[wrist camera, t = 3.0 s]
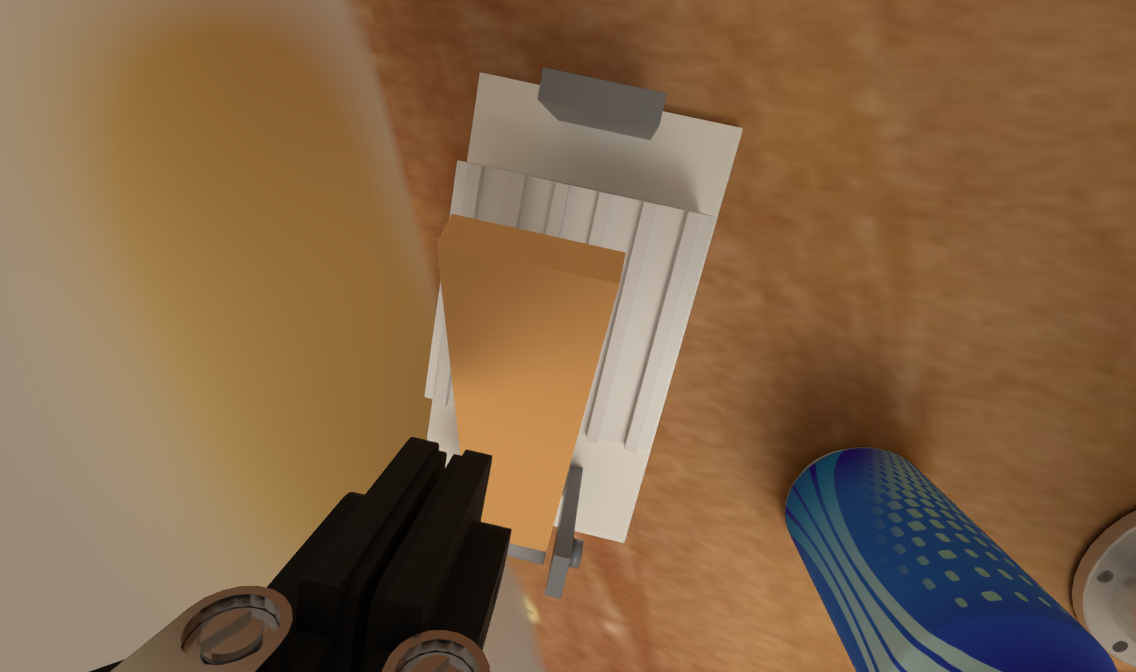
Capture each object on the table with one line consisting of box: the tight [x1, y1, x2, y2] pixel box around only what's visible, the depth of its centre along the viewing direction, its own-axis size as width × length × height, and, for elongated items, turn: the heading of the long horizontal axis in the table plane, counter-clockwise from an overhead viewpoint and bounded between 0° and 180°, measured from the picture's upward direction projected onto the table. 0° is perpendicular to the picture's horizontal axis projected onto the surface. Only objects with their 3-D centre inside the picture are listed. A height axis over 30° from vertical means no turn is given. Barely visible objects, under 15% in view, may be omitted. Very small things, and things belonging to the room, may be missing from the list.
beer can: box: [785, 447, 1118, 672], centre depth 25 cm, size 8×8×16 cm
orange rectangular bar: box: [436, 214, 626, 565], centre depth 20 cm, size 21×4×2 cm
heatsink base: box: [425, 67, 743, 599], centre depth 27 cm, size 26×14×10 cm, turn 168°
